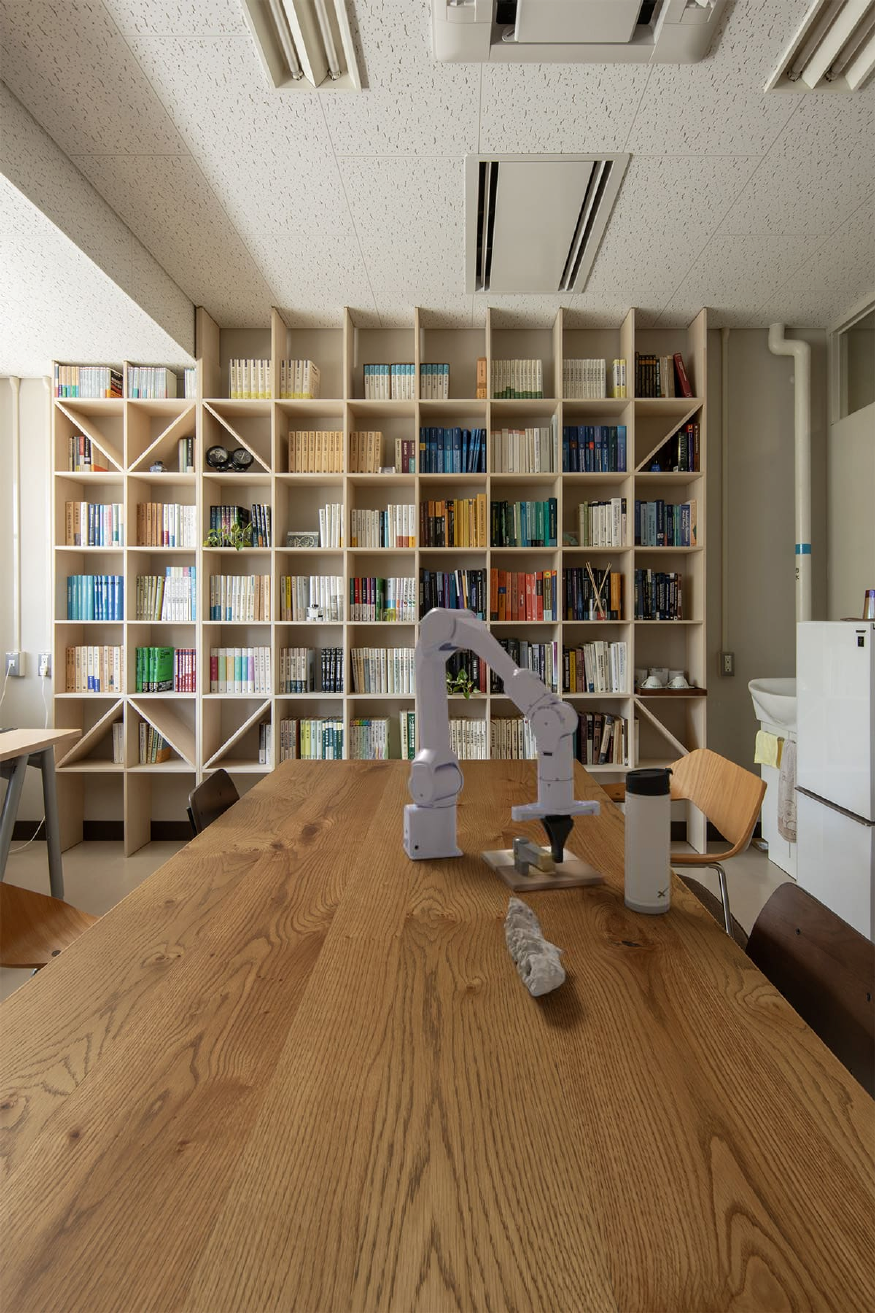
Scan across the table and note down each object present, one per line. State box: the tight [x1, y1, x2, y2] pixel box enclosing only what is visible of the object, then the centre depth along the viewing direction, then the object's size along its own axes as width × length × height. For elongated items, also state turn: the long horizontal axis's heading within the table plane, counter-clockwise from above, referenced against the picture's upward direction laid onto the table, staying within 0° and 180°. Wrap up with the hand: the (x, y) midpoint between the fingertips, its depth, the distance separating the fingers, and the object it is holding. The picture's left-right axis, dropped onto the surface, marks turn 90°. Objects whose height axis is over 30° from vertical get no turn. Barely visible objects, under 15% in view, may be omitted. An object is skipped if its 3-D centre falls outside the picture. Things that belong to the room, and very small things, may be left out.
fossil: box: [503, 897, 566, 997], centre depth 82 cm, size 21×6×5 cm, turn 3°
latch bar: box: [512, 836, 556, 871], centre depth 117 cm, size 10×3×3 cm, turn 22°
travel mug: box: [624, 767, 674, 915], centre depth 101 cm, size 6×7×20 cm
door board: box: [481, 845, 605, 893], centre depth 117 cm, size 15×17×3 cm
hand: (557, 861), depth 113 cm, fingers closed, pressing on latch bar
